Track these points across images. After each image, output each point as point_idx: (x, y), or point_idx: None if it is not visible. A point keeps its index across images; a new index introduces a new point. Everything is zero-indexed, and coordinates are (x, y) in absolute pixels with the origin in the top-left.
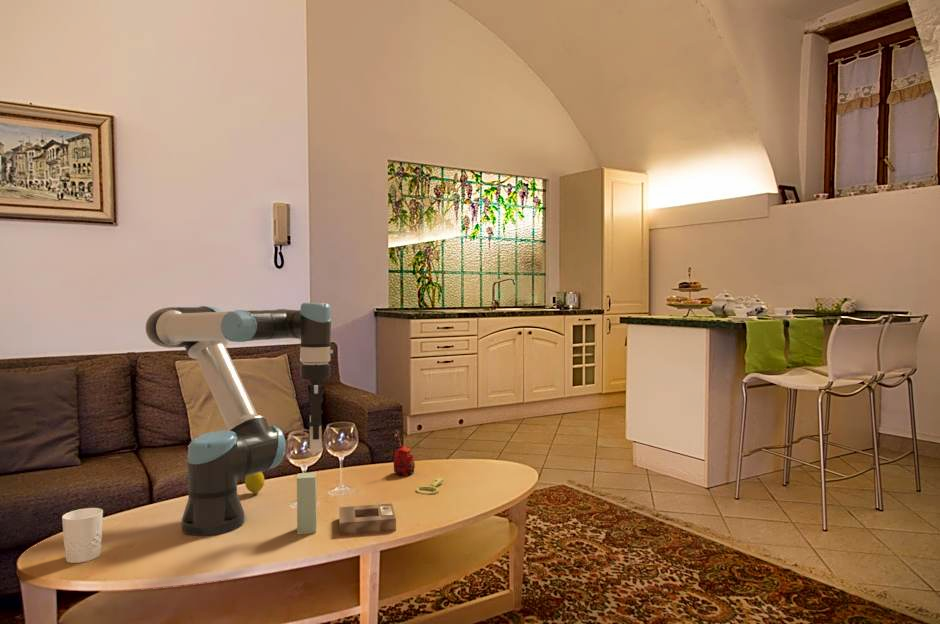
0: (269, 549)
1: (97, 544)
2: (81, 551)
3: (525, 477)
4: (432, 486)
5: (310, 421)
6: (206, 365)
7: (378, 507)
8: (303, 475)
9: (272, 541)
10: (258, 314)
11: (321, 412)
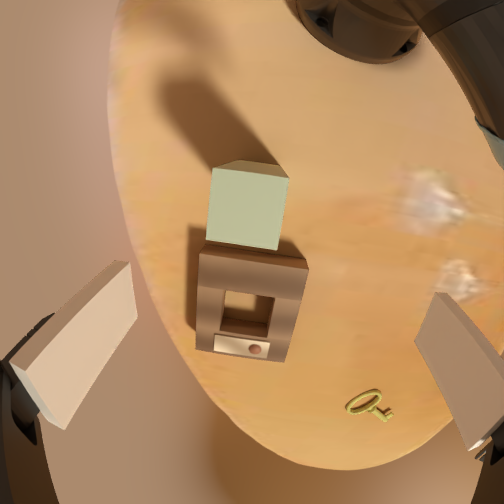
0: (173, 105)
1: None
2: None
3: (339, 467)
4: (369, 410)
5: (492, 369)
6: None
7: (270, 339)
8: (249, 197)
9: (214, 107)
10: None
11: (484, 456)
